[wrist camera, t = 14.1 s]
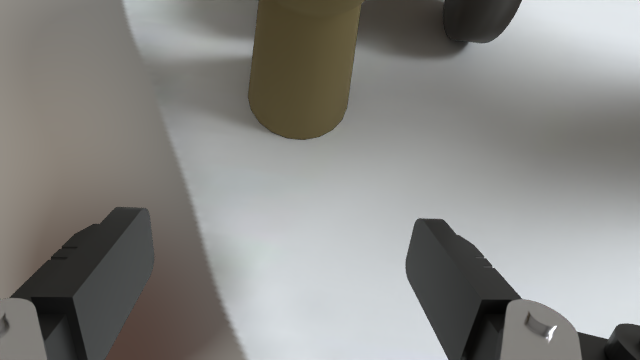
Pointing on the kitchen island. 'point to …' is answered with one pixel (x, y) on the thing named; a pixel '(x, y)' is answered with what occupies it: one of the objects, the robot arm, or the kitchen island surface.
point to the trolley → (478, 18)
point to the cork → (303, 65)
